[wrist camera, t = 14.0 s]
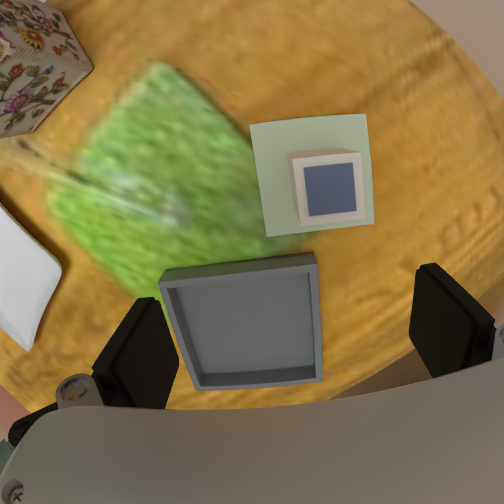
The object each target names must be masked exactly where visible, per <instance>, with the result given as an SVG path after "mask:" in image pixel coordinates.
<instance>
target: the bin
mask: <svg viewBox="0 0 504 504" xmlns="http://www.w3.org/2000/svg"><path fill="white" fill-rule="evenodd" d="M158 285H159V288H160V291H161V295H162V298H163V301H164V304H165V307H166V310H167V313H168V316H169V319H170V322H171V325H172V328H173V331H174V334H175V336H176V339H177V342H178V345H179V348H180V350H181V353H182V356H183V359H184V361H185V364H186V366H187V369H188V372H189V374H190V377H191V379H192V382H193V384H194V387H195V389H196V391H210V390H237V389H254V388H267V387H279V386H289V385H298V384H307V383H315V382H322V381H323V375H322V339H321V316H320V298H319V282H318V267H317V262H316V259H315V256H314V253H313V252H307V253H299V254H291V255H283V256H275V257H267V258H259V259H251V260H243V261H235V262H226V263H218V264H210V265H202V266H193V267H185V268H177V269H168V270H166V271H165V272H164V274H163V275H162V277H161V278H160V279H159V281H158Z"/></svg>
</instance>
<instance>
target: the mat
mask: <svg viewBox="0 0 504 504" xmlns="http://www.w3.org/2000/svg"><path fill="white" fill-rule="evenodd" d="M249 126H250V132H251V138H252V144H253V151H254V157H255V163H256V170H257V176H258V182H259V189H260V195H261V202H262V209H263V215H264V222H265V229H266V235H267V237H271V236H279V235H287V234H295V233H303V232H311V231H319V230H327V229H336V228H344V227H352V226H361V225H369V224H374V201H373V183H372V169H371V157H370V147H369V137H368V129H367V120H366V114H347V115H332V116H319V117H308V118H298V119H289V120H280V121H272V122H265V123H258V124H251V125H249ZM333 147H341V148H345V149H349V150H353V151H357V152H360V154H361V164H362V176H363V189H364V204H365V218H364V219H356V220H347V221H339V222H331V223H323V224H315V225H307V226H300V223H299V220H298V217H297V214H296V211H295V208H294V205H293V197H292V190H291V182H290V175H289V168H288V161H287V154H286V153H287V152H295V151H304V150H313V149H322V148H333Z"/></svg>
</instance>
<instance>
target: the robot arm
mask: <svg viewBox="0 0 504 504" xmlns="http://www.w3.org/2000/svg"><path fill="white" fill-rule="evenodd" d="M494 322H495V319H494V318H493V317H492V316H491V315H490V314H489V313H488V312H487V311H486V310H485V309H484V308H483V307H482V306H481V305H480V304H479V303H478V302H477V301H476V300H475V299H474V298H473V297H472V296H471V295H470V294H469V293H468V292H467V291H466V290H465V289H464V288H463V287H462V286H461V285H460V284H459V283H457V282H456V281H455V280H454V279H453V278H452V277H451V276H450V275H449V274H448V273H447V272H446V271H444V270H443V269H442V268H441V267H440V266H439V265H438V264H437V263H429V264H423V265H421V266H420V268H419V269H417V270H416V274H415V285H414V295H413V303H412V311H411V319H410V326H409V337H410V340H411V341H412V343H413V345H414V346H415V348H416V350H417V351H418V353H419V355H420V357H421V358H422V360H423V362H424V364H425V365H426V367H427V369H428V370H429V372H430V374H431V376H432V379H429V380H425V381H421V382H418V383H414V384H410V385H406V386H402V387H397V388H393V389H389V390H384V391H379V392H374V393H369V394H364V395H359V396H353V397H348V398H342V399H335V400H329V401H322V402H314V403H306V404H298V405H288V406H278V407H266V408H250V409H228V410H169V409H165V406H166V403H167V400H168V397H169V394H170V391H171V388H172V385H173V382H174V379H175V376H176V373H177V370H178V367H179V357H178V354H177V351H176V349H175V346H174V343H173V340H172V337H171V334H170V331H169V328H168V325H167V322H166V319H165V316H164V313H163V310H162V307H161V304H160V302H159V301H158V300H155V298H154V297H145V298H138V299H137V300H136V302H135V303H134V304H133V306H132V307H131V309H130V310H129V312H128V313H127V315H126V316H125V317H124V319H123V320H122V322H121V323H120V325H119V326H118V328H117V329H116V331H115V332H114V334H113V335H112V337H111V338H110V340H109V341H108V343H107V344H106V346H105V347H104V349H103V350H102V352H101V353H100V355H99V357H98V358H97V360H96V361H95V363H94V364H93V366H92V369H93V371H94V372H93V374H92V375H91V376H90V375H88V374H76V375H72V376H70V377H68V378H66V379H65V380H64V381H63V382H61V384H60V385H59V386H58V388H57V391H56V399H57V402H55V403H53V404H51V405H49V406H47V407H44V408H42V409H40V410H38V411H36V412H34V413H32V414H30V415H27V416H25V417H23V418H21V419H19V420H17V421H15V422H14V424H13V425H12V427H11V428H10V430H9V433H8V439H9V441H7V442H6V440H5V439H3V440H2V441H0V504H504V324H503V325H501V326H499V327H498V328H497V329H496V328H495V327H494Z"/></svg>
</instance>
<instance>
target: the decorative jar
mask: <svg viewBox="0 0 504 504" xmlns="http://www.w3.org/2000/svg"><path fill="white" fill-rule="evenodd" d="M92 69H93V67H92V64H91V62H90V61H89V59H88V57H87V56H86V54H85V52H84V51H83V49H82V47H81V45H80V44H79V42H78V40H77V38H76V37H75V35H74V33H73V31H72V29H71V28H70V26H69V24H68V23H67V21H66V19H65V17H64V15H63V14H62V12H61V11H60V10H58V9H56V8H54V7H52V6H50V5H47V4H45V3H43V2H40V1H38V0H0V138H6V137H11V136H18V135H24V134H29V133H32V132H34V130H35V129H36V128H37V127H38V126H39V124H40V123H41V122H42V121H43V120H44V119H45V118H46V117H47V116H48V114H49V113H50V112H51V111H52V110H53V109H54V108H55V107H56V106H57V105H58V103H59V102H60V101H61V100H62V99H63V98H64V97H65V96H66V95H67V94H68V93H69V92H70V91H71V90H72V89H73V88H74V87H75V86H76V85H77V84H78V83H79V82H80V81H81V80H82V79H83V78H84V77H85V76H86V75H88V74H89V73H90V72H91V71H92Z"/></svg>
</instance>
